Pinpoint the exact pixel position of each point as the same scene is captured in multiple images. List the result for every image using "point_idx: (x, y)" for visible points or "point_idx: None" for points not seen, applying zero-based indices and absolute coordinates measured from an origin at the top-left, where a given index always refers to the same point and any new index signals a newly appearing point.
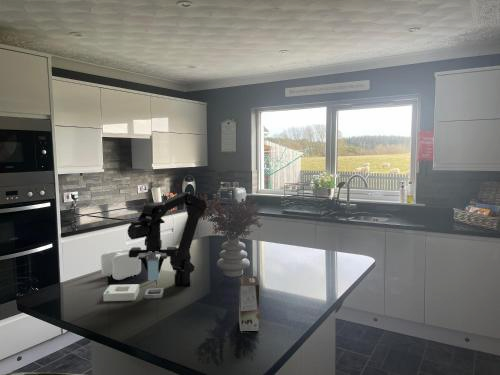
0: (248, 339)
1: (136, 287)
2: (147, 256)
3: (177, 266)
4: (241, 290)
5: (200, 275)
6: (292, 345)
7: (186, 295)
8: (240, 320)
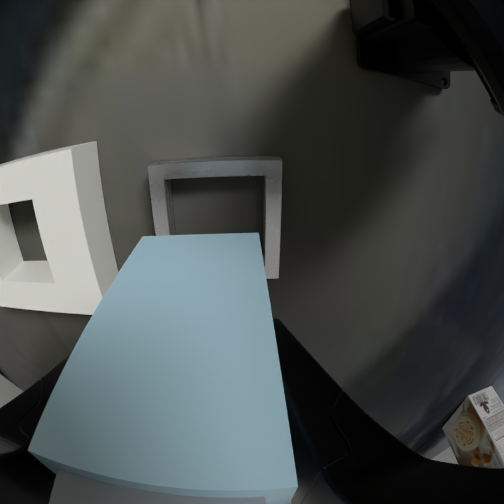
0: (438, 437)
1: (76, 220)
2: (6, 494)
3: (493, 84)
4: None
5: None
6: None
7: (415, 234)
8: (450, 445)
